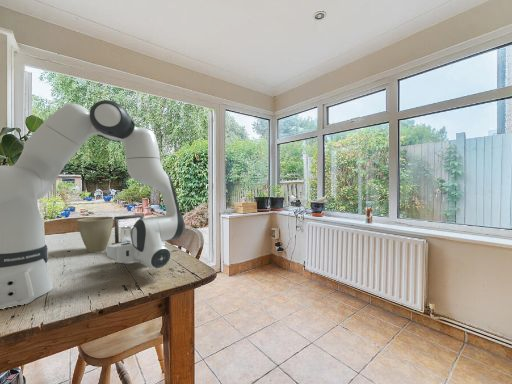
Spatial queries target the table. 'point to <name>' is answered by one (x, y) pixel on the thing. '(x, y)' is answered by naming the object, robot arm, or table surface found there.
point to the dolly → (118, 226)
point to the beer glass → (126, 237)
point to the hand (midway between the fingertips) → (129, 243)
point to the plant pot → (95, 232)
